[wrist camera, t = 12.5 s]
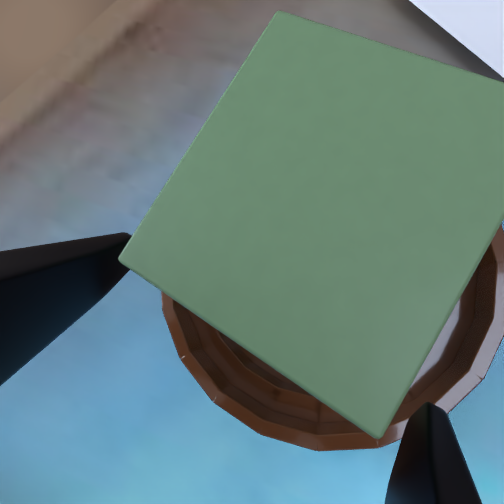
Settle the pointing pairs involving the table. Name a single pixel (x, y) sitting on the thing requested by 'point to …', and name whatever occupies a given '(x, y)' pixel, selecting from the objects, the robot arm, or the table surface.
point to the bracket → (472, 26)
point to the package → (332, 211)
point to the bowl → (316, 412)
